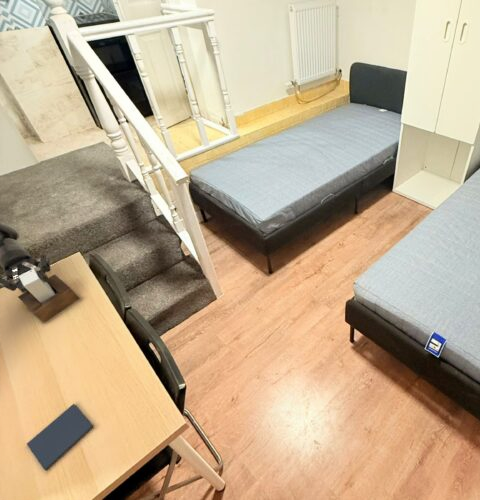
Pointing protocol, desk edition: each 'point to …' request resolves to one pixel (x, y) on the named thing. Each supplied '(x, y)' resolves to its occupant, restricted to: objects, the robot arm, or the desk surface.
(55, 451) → the mat
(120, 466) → the desk surface
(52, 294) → the cosmetic box
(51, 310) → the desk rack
